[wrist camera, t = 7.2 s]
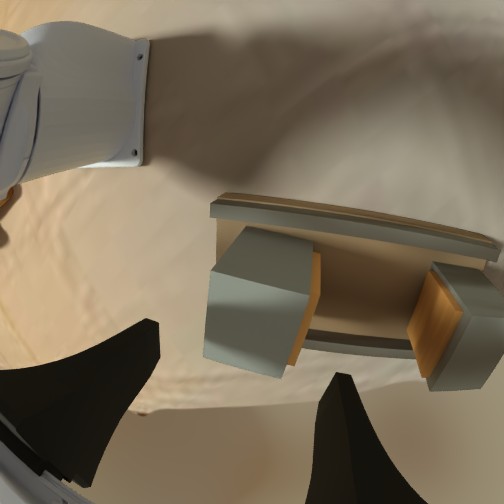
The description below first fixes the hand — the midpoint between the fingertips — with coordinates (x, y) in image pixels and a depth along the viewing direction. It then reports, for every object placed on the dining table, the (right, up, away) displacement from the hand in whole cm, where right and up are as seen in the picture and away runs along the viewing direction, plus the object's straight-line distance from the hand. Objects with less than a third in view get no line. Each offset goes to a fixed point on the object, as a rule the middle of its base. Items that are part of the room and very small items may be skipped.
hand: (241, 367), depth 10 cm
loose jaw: (+2, +3, +7) cm, 8 cm away
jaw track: (+7, +3, +7) cm, 11 cm away
